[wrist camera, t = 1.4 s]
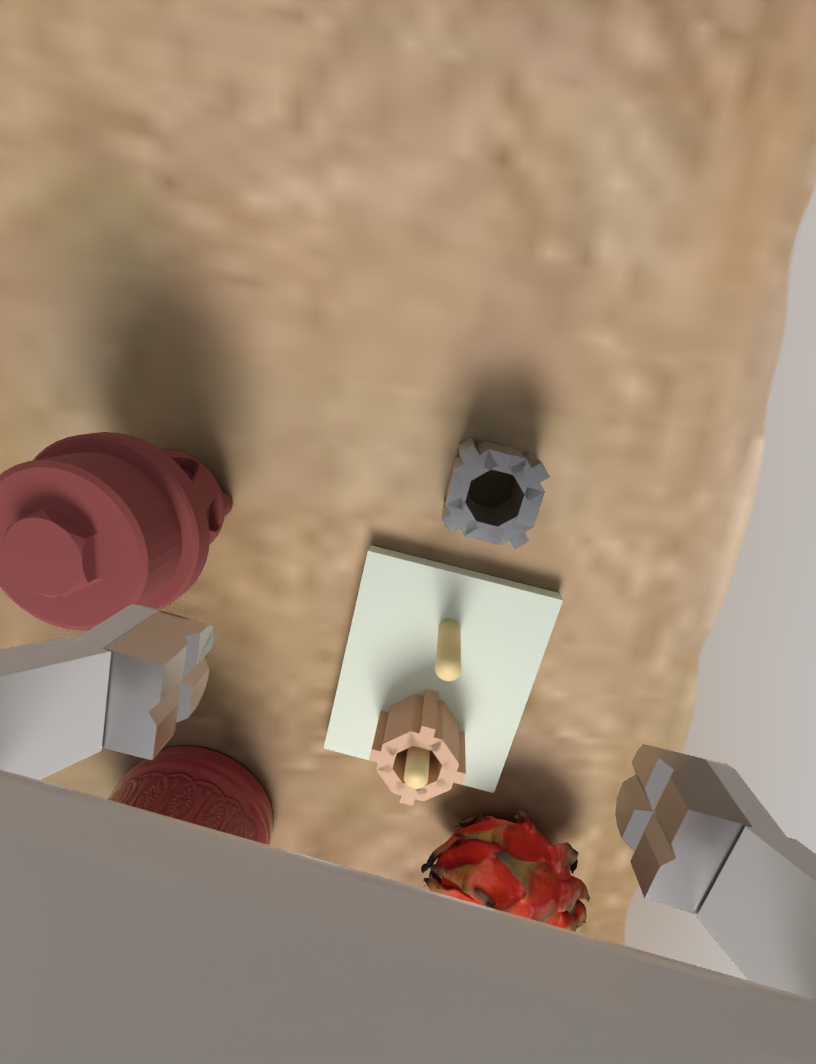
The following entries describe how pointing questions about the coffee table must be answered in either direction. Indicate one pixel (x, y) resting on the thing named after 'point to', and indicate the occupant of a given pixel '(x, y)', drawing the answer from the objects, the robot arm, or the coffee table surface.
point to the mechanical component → (105, 527)
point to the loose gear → (508, 515)
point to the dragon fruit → (510, 871)
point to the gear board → (437, 672)
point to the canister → (199, 792)
